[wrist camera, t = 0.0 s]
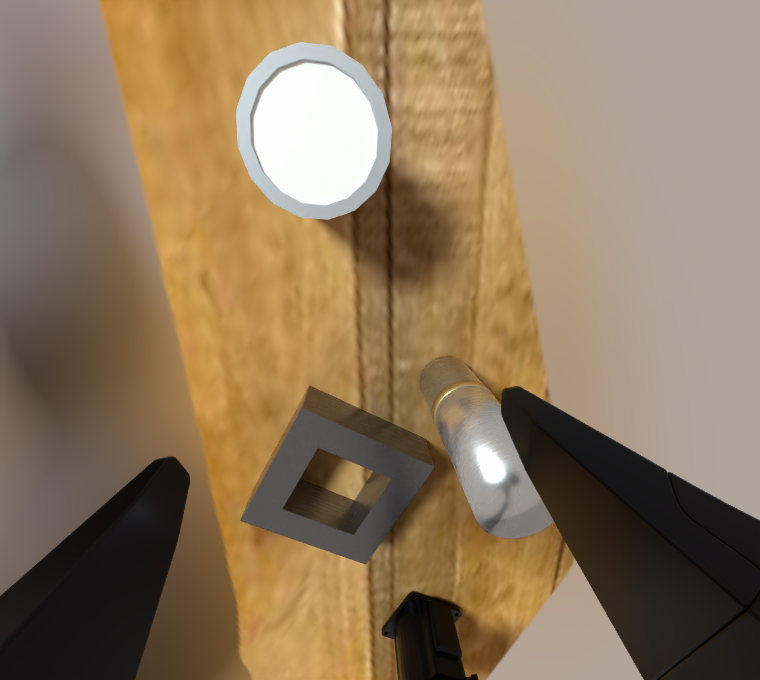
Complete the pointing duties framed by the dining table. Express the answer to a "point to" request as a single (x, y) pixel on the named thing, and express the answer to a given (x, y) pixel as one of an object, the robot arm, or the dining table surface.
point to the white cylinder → (313, 131)
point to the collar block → (324, 508)
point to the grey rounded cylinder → (482, 451)
